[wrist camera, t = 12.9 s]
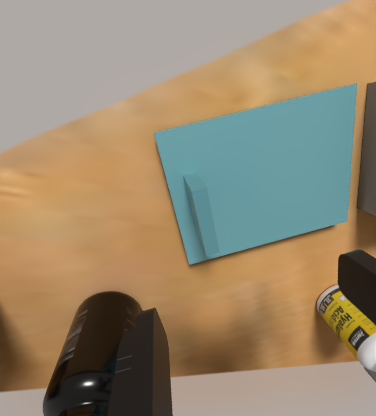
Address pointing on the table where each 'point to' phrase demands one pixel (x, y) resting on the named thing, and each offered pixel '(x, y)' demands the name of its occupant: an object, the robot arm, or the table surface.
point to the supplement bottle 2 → (349, 325)
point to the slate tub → (368, 156)
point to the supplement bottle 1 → (90, 356)
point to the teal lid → (261, 172)
